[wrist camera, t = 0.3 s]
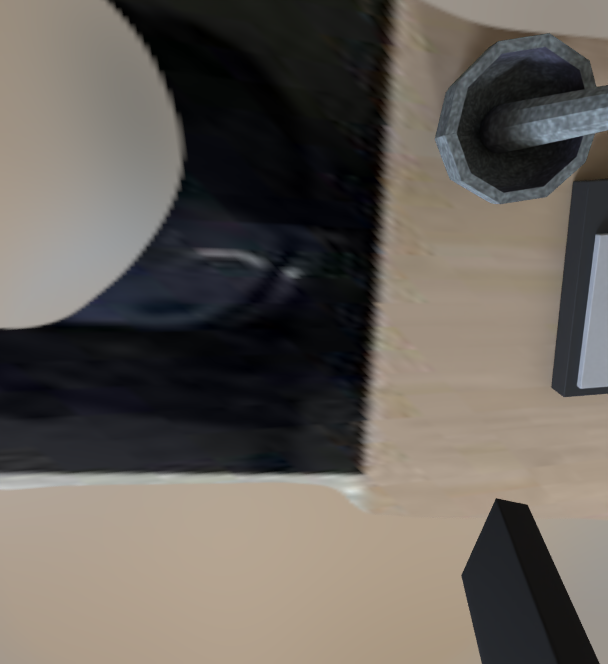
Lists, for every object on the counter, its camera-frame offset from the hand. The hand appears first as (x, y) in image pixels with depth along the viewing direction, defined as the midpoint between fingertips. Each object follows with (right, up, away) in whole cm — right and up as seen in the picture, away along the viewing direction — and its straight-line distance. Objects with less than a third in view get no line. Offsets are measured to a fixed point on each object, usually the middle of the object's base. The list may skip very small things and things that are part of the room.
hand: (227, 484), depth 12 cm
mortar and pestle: (+16, +19, +23) cm, 34 cm away
